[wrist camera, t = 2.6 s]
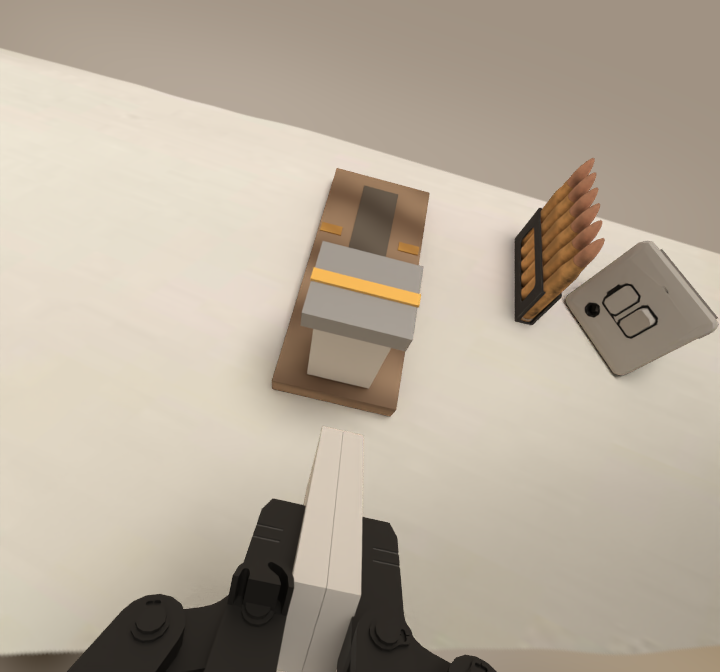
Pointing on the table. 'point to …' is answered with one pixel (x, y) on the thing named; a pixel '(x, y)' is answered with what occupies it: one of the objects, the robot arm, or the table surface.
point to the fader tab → (358, 312)
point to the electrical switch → (640, 309)
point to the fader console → (369, 234)
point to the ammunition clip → (556, 246)
